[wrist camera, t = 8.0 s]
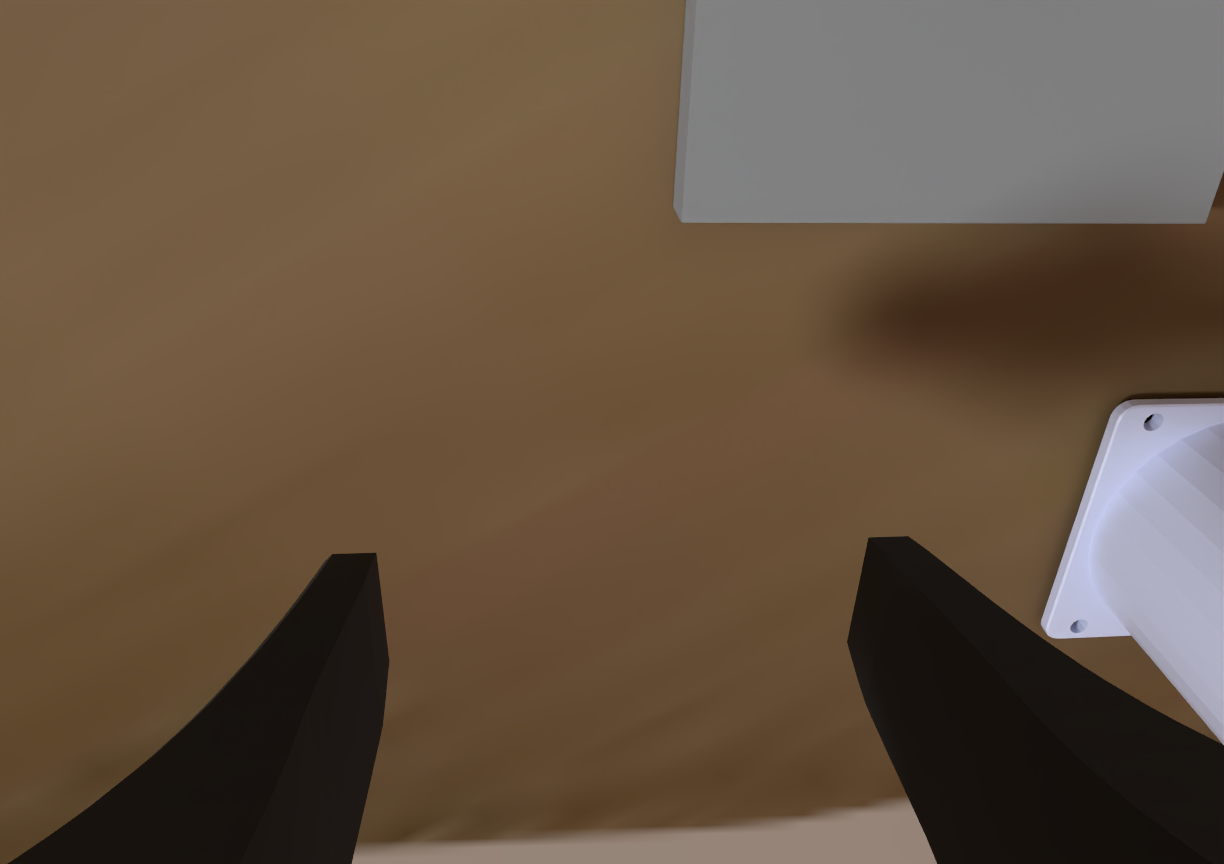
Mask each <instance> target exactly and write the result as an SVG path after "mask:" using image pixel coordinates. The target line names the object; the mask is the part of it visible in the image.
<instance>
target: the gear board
mask: <svg viewBox="0 0 1224 864" xmlns="http://www.w3.org/2000/svg"><path fill="white" fill-rule="evenodd" d="M1223 172H1224V0H686V12H685V27H684V43H683V59H682V75H681V91H680V107H679V122H678V138H677V154H676V170H675V186H674V202H673V207H674V209H675V211H676V213H677V215H678V217H679V219H680V221H681V223H1145V224H1205V223H1206V220H1207V217H1208V215H1209V212H1210V209H1211V206H1212V203H1213V200H1214V198H1215V195H1216V192H1217V189H1218V186H1219V183H1220V181H1221V178H1222V175H1223Z"/></svg>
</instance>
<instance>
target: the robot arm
mask: <svg viewBox="0 0 1224 864" xmlns="http://www.w3.org/2000/svg"><path fill="white" fill-rule="evenodd" d="M1152 414H1154V416H1153V417H1152V419H1151V420H1149V421H1148V422H1147V423H1144V421H1145V420H1146V418H1147V417H1149V416H1150V415H1152ZM1077 620H1078V621H1077ZM1076 621H1077V622H1076ZM1074 622H1075V623H1074ZM1041 625H1042V627H1043V629H1044V631H1045V632H1046V633H1047V635H1048V636H1050V637H1052V638H1057V639H1059V638H1083V637H1107V636H1130V635H1132V636H1133V638H1134V639H1135V640H1136V641H1137V642H1138V644H1139V645H1140V646H1141V647H1142V648H1143V650H1144V651H1145V652H1146V653H1147V654H1148V655H1149V657H1150V658H1151V659H1152V660H1153V661H1154V663H1155V664H1156V665H1157V666H1158V667H1159V669H1160V670H1161V671H1162V672H1163V673H1164V674H1165V676H1166V677H1167V678H1168V679H1169V680H1170V682H1171V683H1172V684H1173V685H1174V686H1175V688H1176V689H1177V690H1178V691H1179V692H1180V693H1181V695H1182V696H1183V697H1184V698H1185V699H1186V701H1187V702H1188V703H1189V704H1190V705H1191V707H1192V708H1193V709H1194V710H1195V711H1196V712H1197V714H1198V715H1199V716H1200V717H1201V718H1202V720H1203V721H1204V722H1205V723H1206V724H1207V726H1208V727H1209V728H1210V729H1211V730H1212V731H1213V733H1214V734H1215V735H1216V736H1217V737H1218V739H1219V740H1220V741H1221V742H1222V743H1223V745H1222V744H1220V743H1218V742H1217V741H1215V740H1213V739H1211V738H1209V737H1207V736H1205V735H1203V734H1201V733H1199V732H1197V731H1195V730H1193V729H1191V728H1189V727H1187V726H1185V725H1183V724H1181V723H1179V722H1177V721H1175V720H1173V719H1171V718H1170V717H1168V716H1166V715H1164V714H1162V713H1160V712H1159V711H1157V710H1155V709H1153V708H1151V707H1149V706H1148V705H1146V704H1144V703H1143V702H1141V701H1139V700H1138V699H1136V698H1134V697H1133V696H1131V695H1129V694H1127V693H1126V692H1124V691H1122V690H1121V689H1119V688H1117V687H1116V686H1114V685H1112V684H1111V683H1109V682H1107V681H1105V680H1104V679H1102V678H1101V677H1099V676H1098V675H1096V674H1094V673H1093V672H1091V671H1090V670H1088V669H1087V668H1085V667H1083V666H1082V665H1080V664H1079V663H1077V662H1076V661H1075V660H1073V659H1072V658H1070V657H1069V656H1067V655H1066V654H1064V653H1063V652H1061V651H1060V650H1058V649H1057V648H1055V647H1054V646H1053V645H1051V644H1050V643H1048V642H1047V641H1045V640H1044V639H1042V638H1041V637H1040V636H1038V635H1037V634H1036V633H1034V632H1033V631H1031V630H1030V629H1029V628H1027V627H1026V626H1024V625H1023V624H1022V623H1020V622H1019V621H1018V620H1016V619H1015V618H1014V617H1012V616H1011V615H1010V614H1008V613H1007V612H1006V611H1004V610H1003V609H1002V608H1000V607H999V606H998V605H997V604H995V603H994V602H993V601H991V600H990V599H989V598H987V597H986V596H985V595H984V594H982V593H981V592H980V591H978V590H977V589H976V588H975V587H973V586H972V585H971V584H970V583H968V582H967V581H966V580H964V579H963V578H962V577H961V576H959V575H958V574H957V573H956V572H954V571H953V570H952V569H951V568H949V567H948V566H947V565H945V564H944V563H943V562H942V561H940V560H939V559H938V558H937V557H935V556H934V555H933V554H931V553H930V552H929V551H928V550H926V549H925V548H924V547H922V546H921V545H920V544H918V543H917V542H915V541H914V540H913V539H911V538H910V537H908V536H905V537H873V538H868V543H867V548H866V553H865V557H864V562H863V567H862V572H861V577H860V582H859V587H858V592H857V596H856V601H855V606H854V611H853V616H852V621H851V626H850V631H849V635H848V640H847V643H848V647H849V650H850V654H851V657H852V661H853V664H854V668H855V671H856V675H857V678H858V681H859V684H860V688H861V691H862V694H863V697H864V700H865V703H866V705H867V708H868V710H869V712H870V715H871V717H872V719H873V721H874V724H875V726H876V728H877V730H878V733H879V735H880V737H881V739H882V741H883V744H884V746H885V748H886V750H887V752H888V755H889V757H890V759H891V761H892V763H893V765H894V768H895V770H896V772H897V774H898V776H899V778H900V781H901V783H902V785H903V787H904V789H905V792H906V794H907V796H908V798H909V800H910V802H911V805H912V807H913V809H914V811H915V813H916V815H917V817H918V820H919V822H920V824H921V826H922V828H923V831H924V833H925V835H926V837H927V840H928V842H929V845H930V847H931V849H932V852H933V854H934V857H935V859H936V862H937V864H1224V398H1194V399H1135V400H1129V401H1125V402H1123V403H1122V404H1120V405H1118V406H1117V407H1116V408H1115V409H1114V410H1113V412H1112V414H1111V416H1110V418H1109V421H1108V424H1107V427H1106V430H1105V433H1104V436H1103V439H1102V442H1101V445H1100V448H1099V451H1098V454H1097V457H1096V460H1095V463H1094V466H1093V469H1092V472H1091V475H1090V478H1089V481H1088V484H1087V487H1086V489H1085V492H1084V495H1083V498H1082V501H1081V504H1080V507H1079V510H1078V513H1077V516H1076V519H1075V522H1074V525H1073V528H1072V531H1071V534H1070V537H1069V540H1068V543H1067V546H1066V549H1065V552H1064V555H1063V558H1062V561H1061V564H1060V567H1059V570H1058V573H1057V575H1056V578H1055V581H1054V584H1053V587H1052V590H1051V593H1050V596H1049V599H1048V602H1047V605H1046V608H1045V611H1044V614H1043V617H1042V620H1041ZM388 668H389V655H388V647H387V639H386V630H385V622H384V614H383V605H382V597H381V589H380V580H379V572H378V563H377V555H376V553H356V554H332V555H331V556H330V557H329V558H328V559H327V560H326V561H325V562H324V563H323V565H322V566H321V568H320V569H319V570H318V572H317V573H316V575H315V576H314V577H313V579H312V580H311V581H310V583H309V584H308V586H307V587H306V588H305V590H304V591H303V592H302V594H301V595H300V596H299V598H298V599H297V600H296V602H295V603H294V604H293V605H292V607H291V608H290V609H289V611H288V612H287V613H286V614H285V616H284V617H283V618H282V620H281V621H280V622H279V623H278V624H277V626H276V627H275V628H274V629H273V631H272V632H271V633H270V634H269V635H268V637H267V638H266V639H265V640H264V641H263V643H262V644H261V645H260V646H259V648H258V649H257V650H256V651H255V652H254V654H253V655H252V656H251V657H250V658H249V659H248V660H247V662H246V663H245V664H244V665H243V666H242V667H241V668H240V669H239V670H238V671H237V672H236V674H235V675H234V676H233V677H232V678H231V679H230V680H229V681H228V682H227V683H226V684H225V685H224V687H223V688H222V689H221V690H220V691H219V692H218V693H217V694H216V695H215V696H214V697H213V699H212V700H211V701H210V702H209V703H208V704H207V705H206V706H205V707H204V708H203V709H202V710H201V711H200V712H199V713H198V714H197V715H196V716H195V717H194V718H193V719H192V720H191V721H190V722H189V723H188V724H186V725H185V726H184V727H183V728H182V729H181V730H180V731H179V732H178V733H177V734H176V735H175V736H174V737H173V738H172V739H170V740H169V741H168V742H167V743H166V744H165V745H164V746H163V747H162V748H161V749H160V750H158V751H157V752H156V753H155V754H154V755H153V756H152V757H151V758H149V759H148V760H147V761H146V762H145V763H143V764H142V765H141V766H140V767H139V768H137V769H136V770H135V771H134V772H133V773H131V774H130V775H129V776H128V777H126V778H125V779H124V780H123V781H121V782H120V783H119V784H118V785H116V786H115V787H114V788H113V789H111V790H110V791H109V792H108V793H106V794H105V795H104V796H102V797H101V798H100V799H99V800H97V801H96V802H95V803H94V804H92V805H91V806H90V807H89V808H87V809H86V810H85V811H83V812H82V813H80V814H79V815H78V816H76V817H75V818H74V819H72V820H71V821H69V822H68V823H67V824H65V825H64V826H62V827H61V828H60V829H58V830H57V831H55V832H54V833H53V834H51V835H50V836H48V837H47V838H45V839H44V840H42V841H41V842H39V843H38V844H36V845H35V846H33V847H32V848H30V849H29V850H28V851H26V852H25V853H23V854H22V855H20V856H19V857H17V858H16V859H14V860H13V861H11V862H10V863H8V864H352V859H353V855H354V850H355V846H356V842H357V837H358V833H359V829H360V824H361V820H362V816H363V811H364V807H365V802H366V798H367V794H368V789H369V785H370V781H371V776H372V772H373V767H374V763H375V758H376V754H377V749H378V745H379V740H380V736H381V731H382V726H383V718H384V709H385V699H386V689H387V679H388Z"/></svg>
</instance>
